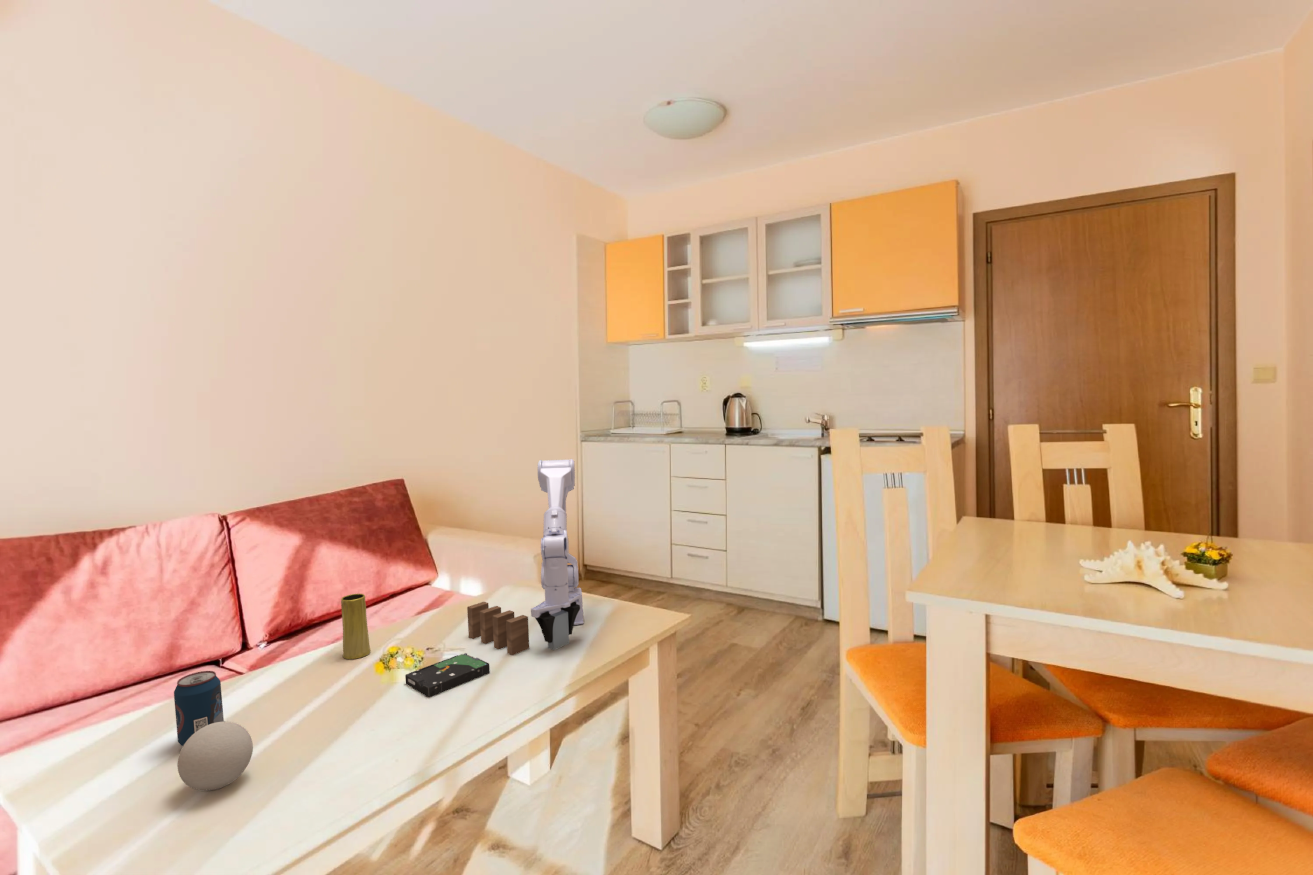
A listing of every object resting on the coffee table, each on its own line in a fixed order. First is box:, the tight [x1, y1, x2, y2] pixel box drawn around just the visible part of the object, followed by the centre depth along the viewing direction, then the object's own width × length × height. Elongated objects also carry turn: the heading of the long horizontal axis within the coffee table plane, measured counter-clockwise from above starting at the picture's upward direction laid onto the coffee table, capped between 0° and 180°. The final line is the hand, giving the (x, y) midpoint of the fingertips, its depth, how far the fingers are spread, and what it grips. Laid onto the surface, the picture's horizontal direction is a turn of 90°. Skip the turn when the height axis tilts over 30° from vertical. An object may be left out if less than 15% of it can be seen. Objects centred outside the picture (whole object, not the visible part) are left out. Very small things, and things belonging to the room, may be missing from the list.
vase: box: [340, 593, 372, 660], centre depth 153 cm, size 6×6×14 cm
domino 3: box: [506, 614, 530, 656], centre depth 152 cm, size 2×5×8 cm, turn 139°
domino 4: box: [547, 610, 570, 651], centre depth 155 cm, size 2×5×8 cm, turn 139°
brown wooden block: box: [493, 610, 516, 651], centre depth 156 cm, size 2×5×8 cm, turn 139°
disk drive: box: [404, 652, 491, 699], centre depth 139 cm, size 10×3×15 cm
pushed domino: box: [466, 601, 490, 640], centre depth 163 cm, size 2×5×8 cm, turn 139°
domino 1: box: [480, 605, 502, 645], centre depth 160 cm, size 2×5×8 cm, turn 139°
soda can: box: [173, 670, 225, 747], centre depth 115 cm, size 7×7×12 cm
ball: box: [177, 721, 254, 792], centre depth 102 cm, size 10×10×10 cm
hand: (558, 637), depth 155 cm, fingers open, 6 cm apart
